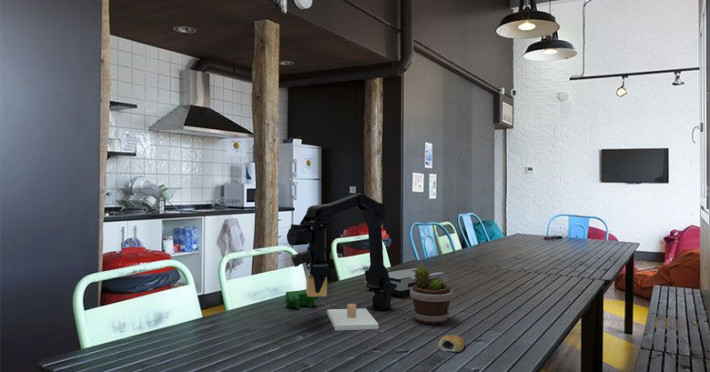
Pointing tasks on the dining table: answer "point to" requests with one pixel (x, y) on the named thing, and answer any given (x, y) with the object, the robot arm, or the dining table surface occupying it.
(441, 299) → the flowerpot
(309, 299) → the clamp
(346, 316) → the plate
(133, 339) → the dining table surface
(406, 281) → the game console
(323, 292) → the cardboard box
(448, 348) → the pastry
